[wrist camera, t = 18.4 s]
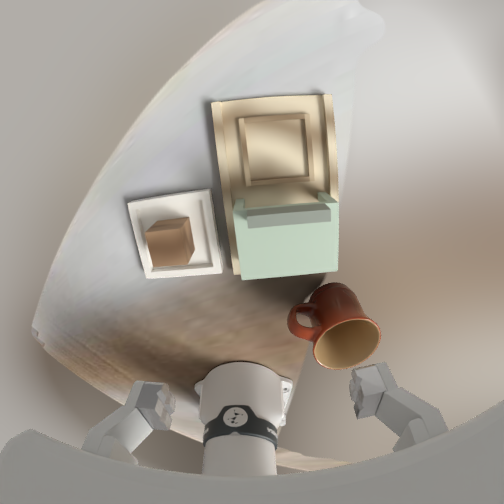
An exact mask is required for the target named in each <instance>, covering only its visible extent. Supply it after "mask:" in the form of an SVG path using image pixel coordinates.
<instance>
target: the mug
mask: <svg viewBox="0 0 504 504" xmlns="http://www.w3.org/2000/svg"><path fill="white" fill-rule="evenodd" d="M297 314H303V315H306V316H308V317H309V319H310V321H311V325H312V327H311V328H310V327H304V326H302V325H300V324H299V323H298V322H297V319H296V315H297ZM287 325H288V328H289V330H290V332H291V333H292V334H293V335H295V336H297V337H299V338H302V339H306V340H308V341H310V342H313V355H314V357H315V359H316V361H317V362H318V363H319V364H320V365H321V366H323V367H326V368H328V369H334V370H340V369H347V368H351V367H353V366H356V365H358V364H360V363H362V362H363V361H365V360H366V359H368V358H369V357H370V356H371V355H372V354H373V353H374V351H375V350H376V349H377V347H378V345H379V343H380V339H381V332H380V328H379V326H378V325H377V324H376V323H375V322H374V321H373V320H372V319H370V318H369V317H368V316H366V315H365V313H364V311H363V309H362V307H361V305H360V303H359V301H358V299H357V296H356V295H355V294H354V293H353V292H352V291H351V290H350V289H349V288H348V287H347V286H346V285H344V284H341V283H328V284H325V285H323V286H321V287H319V288H318V289H316V290H315V291H314V293H313V294H312V295H311V297H310V300H309V303H302V304H297V305H295V306H293V307H292V309H291V310H290V312H289V314H288V318H287Z"/></svg>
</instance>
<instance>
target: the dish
mask: <svg viewBox="0 0 504 504" xmlns="http://www.w3.org/2000/svg"><path fill="white" fill-rule="evenodd" d="M127 204H128V209H129V213H130V218H131V222H132V226H133V230H134V234H135V238H136V242H137V246H138V250H139V254H140V257H141V261H142V265H143V268H144V271H145V275H146V278H147V279H152V278H166V277H180V276H193V275H206V274H218V273H222V272H223V262H222V256H221V250H220V244H219V238H218V231H217V225H216V218H215V212H214V205H213V198H212V191H211V188H209V189H202V190H194V191H187V192H181V193H174V194H168V195H161V196H155V197H150V198H144V199H138V200H133V201H131V202H129V203H127ZM184 217H189V219H190V224H191V230H192V235H193V241H194V246H195V251H194V253H193V255H192V257H191V259H190V261H189V263H188V265H176V266H163V267H153V265H152V261H151V257H150V253H149V249H148V245H147V241H146V237H145V232H146V231H147V230H148V229H149V228H150V227H151V226H152V225H153V224H154V223H155V222H156V221H161V220H168V219H176V218H184Z"/></svg>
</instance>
